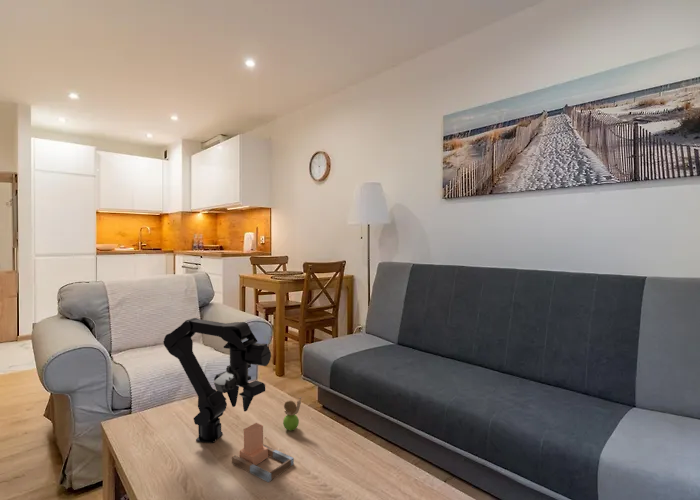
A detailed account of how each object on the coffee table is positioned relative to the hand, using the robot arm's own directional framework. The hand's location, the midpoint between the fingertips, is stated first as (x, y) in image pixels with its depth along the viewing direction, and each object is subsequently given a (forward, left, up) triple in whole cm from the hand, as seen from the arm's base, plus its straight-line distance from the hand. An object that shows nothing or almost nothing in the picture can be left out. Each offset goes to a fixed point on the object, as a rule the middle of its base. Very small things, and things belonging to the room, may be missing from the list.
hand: (239, 408), depth 132 cm
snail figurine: (+14, +12, -12) cm, 22 cm away
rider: (+8, -7, -12) cm, 16 cm away
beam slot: (+12, -9, -12) cm, 19 cm away
